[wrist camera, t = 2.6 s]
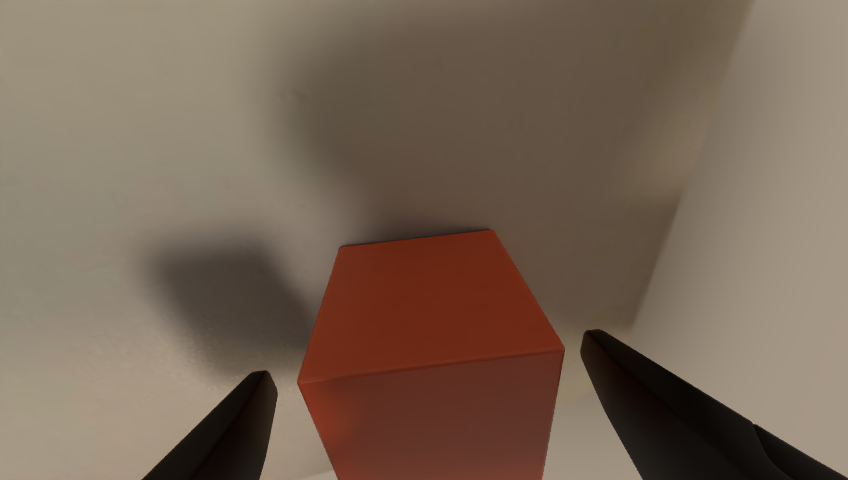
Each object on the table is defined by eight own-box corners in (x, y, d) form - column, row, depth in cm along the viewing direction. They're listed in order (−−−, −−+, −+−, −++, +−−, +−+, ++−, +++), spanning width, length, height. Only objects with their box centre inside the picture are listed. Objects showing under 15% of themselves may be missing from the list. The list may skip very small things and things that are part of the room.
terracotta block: (491, 340, 13) (542, 485, 8) (366, 355, 12) (349, 511, 8) (493, 228, 10) (567, 347, 6) (338, 246, 10) (294, 382, 6)
